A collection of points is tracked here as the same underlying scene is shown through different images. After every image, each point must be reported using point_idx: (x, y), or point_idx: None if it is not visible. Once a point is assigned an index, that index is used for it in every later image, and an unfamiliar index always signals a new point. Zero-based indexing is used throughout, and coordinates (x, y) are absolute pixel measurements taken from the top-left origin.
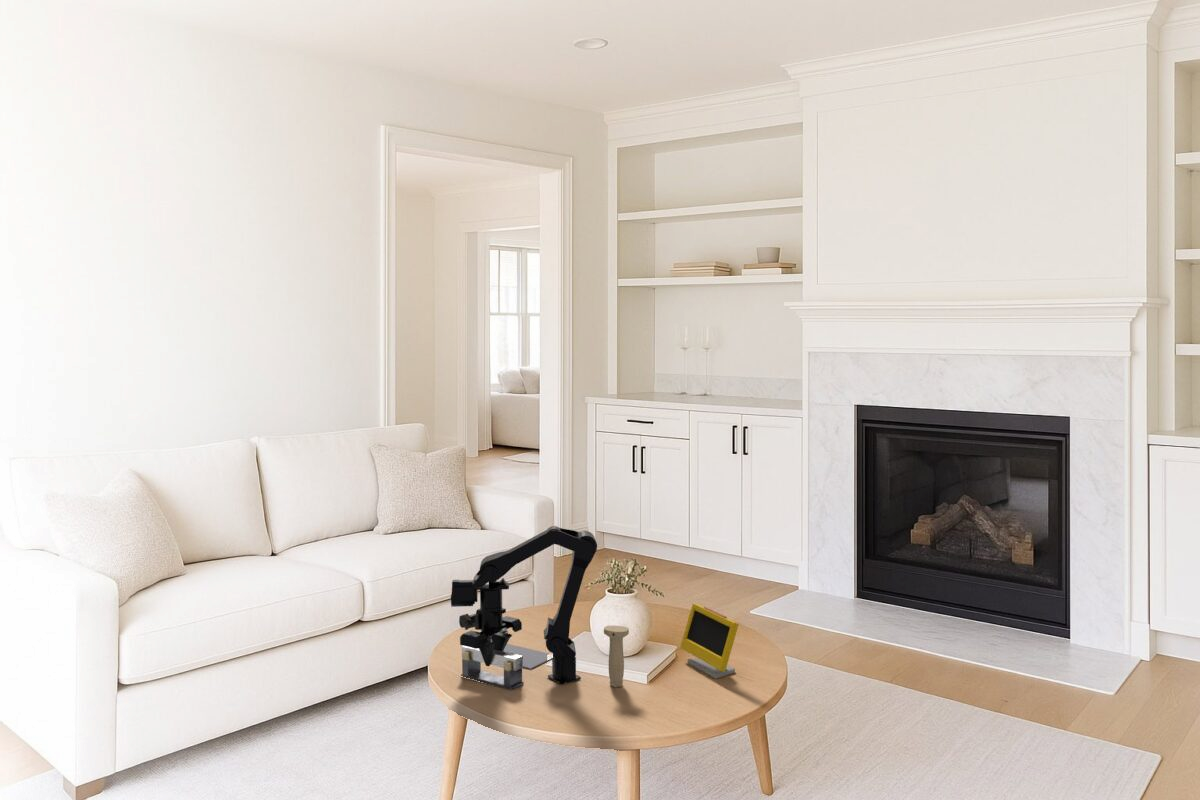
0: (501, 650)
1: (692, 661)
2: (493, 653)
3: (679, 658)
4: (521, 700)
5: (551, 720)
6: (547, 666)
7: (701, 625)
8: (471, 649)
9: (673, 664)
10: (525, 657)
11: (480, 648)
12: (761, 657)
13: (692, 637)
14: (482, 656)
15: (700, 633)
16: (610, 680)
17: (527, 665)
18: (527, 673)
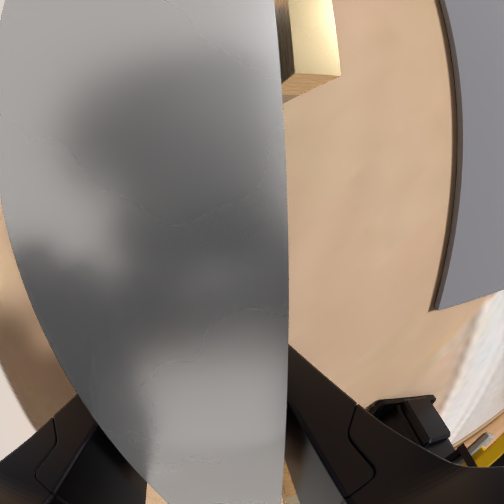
0: (295, 482)
1: (479, 444)
2: (166, 489)
3: (501, 416)
4: None
5: (148, 499)
6: (470, 321)
7: None
8: (6, 145)
9: (481, 431)
10: None
11: (14, 479)
12: (494, 440)
13: (501, 460)
14: (72, 401)
15: None
16: None
17: (460, 274)
18: (395, 328)
